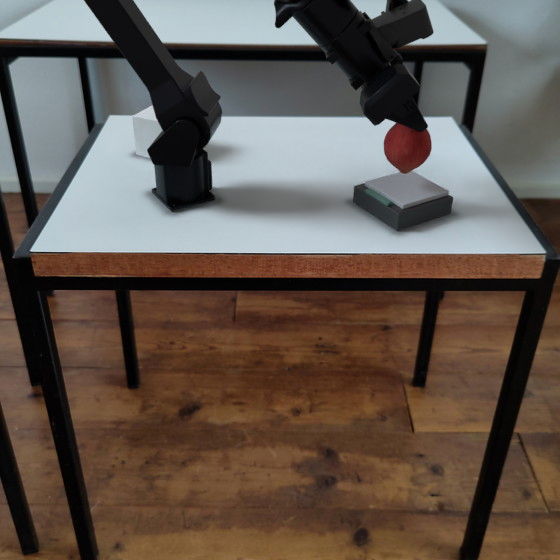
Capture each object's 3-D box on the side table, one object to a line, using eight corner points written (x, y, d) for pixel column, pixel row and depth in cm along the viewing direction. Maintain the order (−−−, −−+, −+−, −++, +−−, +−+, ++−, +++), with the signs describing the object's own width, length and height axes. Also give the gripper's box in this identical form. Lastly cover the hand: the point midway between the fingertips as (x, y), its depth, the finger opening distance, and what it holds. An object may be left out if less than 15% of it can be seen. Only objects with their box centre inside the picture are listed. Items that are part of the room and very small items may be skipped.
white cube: (158, 141, 107) (155, 103, 104) (192, 148, 105) (190, 109, 102) (136, 154, 103) (132, 115, 99) (170, 162, 101) (167, 122, 97)
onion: (373, 176, 86) (380, 114, 82) (390, 159, 91) (397, 100, 86) (418, 187, 84) (428, 124, 80) (432, 169, 88) (442, 109, 84)
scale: (396, 231, 85) (399, 209, 83) (352, 202, 91) (354, 181, 89) (450, 213, 89) (454, 192, 87) (404, 186, 95) (407, 166, 94)
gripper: (411, -8, 66) (500, 105, 73) (381, -42, 82) (457, 54, 89) (324, 72, 70) (416, 173, 77) (311, 26, 86) (389, 113, 93)
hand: (421, 123), depth 84 cm, fingers closed on onion, 3 cm apart
